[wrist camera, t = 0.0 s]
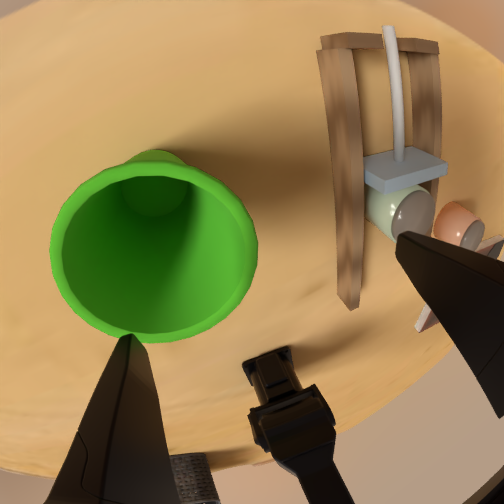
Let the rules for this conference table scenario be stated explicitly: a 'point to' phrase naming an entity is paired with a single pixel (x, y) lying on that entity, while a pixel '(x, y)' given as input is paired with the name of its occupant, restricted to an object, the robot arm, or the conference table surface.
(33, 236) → the conference table surface
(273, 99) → the conference table surface
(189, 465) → the storage bin
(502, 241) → the picture frame
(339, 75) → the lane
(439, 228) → the jar
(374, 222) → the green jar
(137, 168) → the cup
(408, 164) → the pusher
